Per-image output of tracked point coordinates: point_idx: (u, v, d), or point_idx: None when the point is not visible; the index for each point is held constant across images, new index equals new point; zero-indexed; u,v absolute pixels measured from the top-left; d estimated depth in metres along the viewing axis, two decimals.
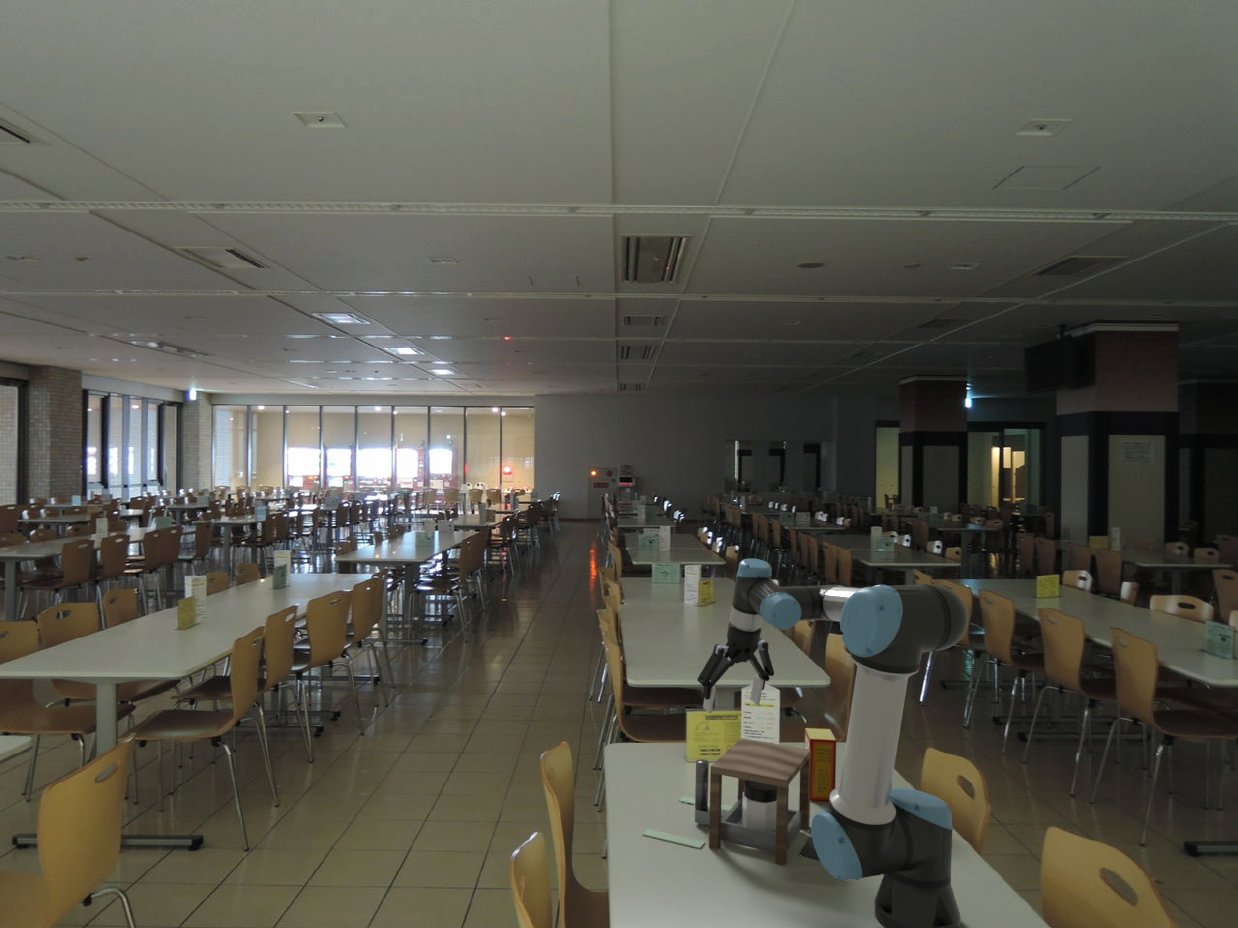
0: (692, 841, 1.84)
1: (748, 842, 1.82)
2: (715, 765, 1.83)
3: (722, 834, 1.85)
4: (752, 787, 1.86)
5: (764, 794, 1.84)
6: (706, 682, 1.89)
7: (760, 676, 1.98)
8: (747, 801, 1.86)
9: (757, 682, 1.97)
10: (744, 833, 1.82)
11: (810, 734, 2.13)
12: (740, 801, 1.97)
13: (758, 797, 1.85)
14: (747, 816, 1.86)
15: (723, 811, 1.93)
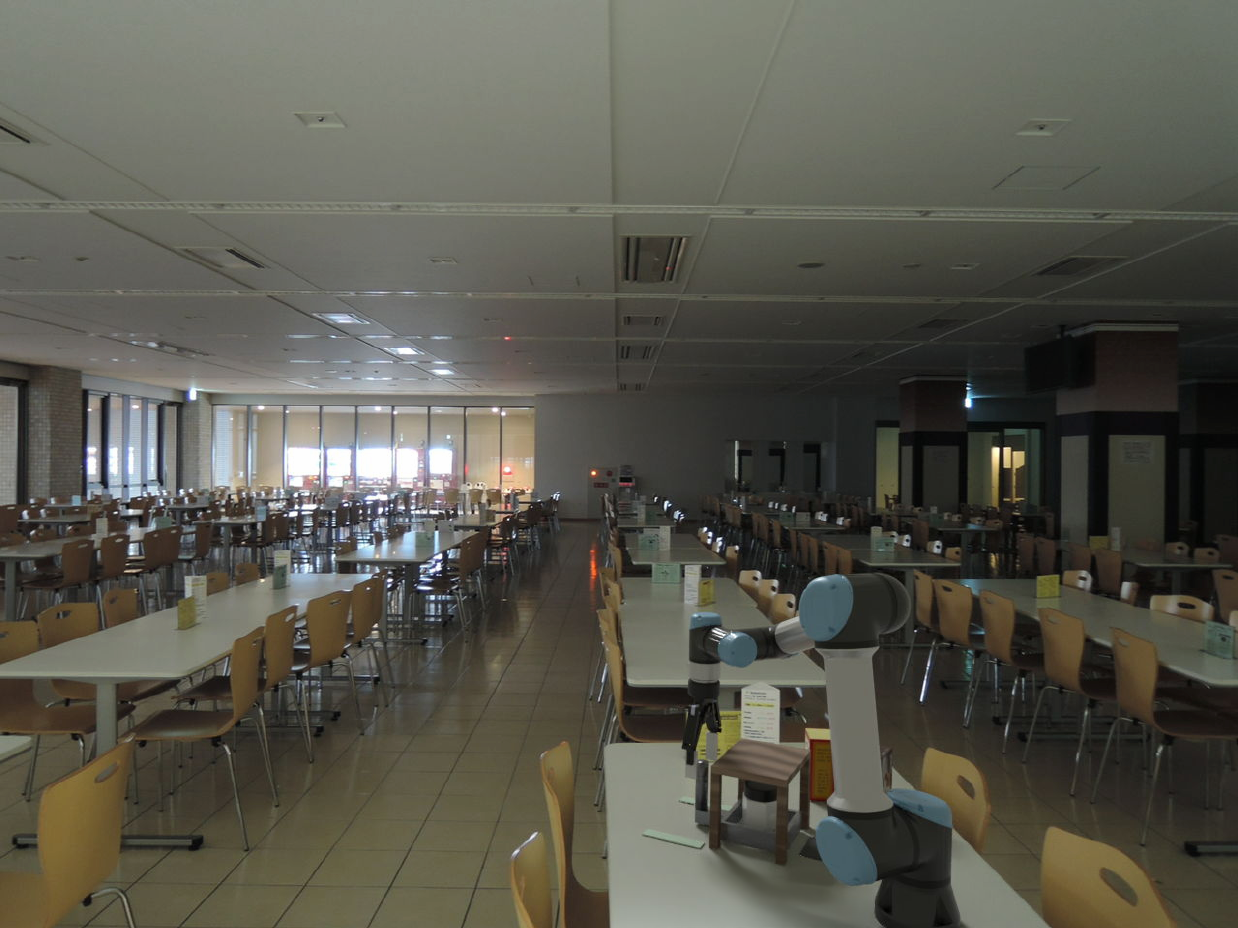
0: (692, 841, 1.84)
1: (748, 842, 1.82)
2: (715, 765, 1.83)
3: (722, 834, 1.85)
4: (752, 787, 1.86)
5: (764, 794, 1.84)
6: (693, 746, 1.86)
7: (712, 731, 2.02)
8: (747, 801, 1.86)
9: (712, 737, 2.01)
10: (744, 833, 1.82)
11: (810, 734, 2.13)
12: (740, 801, 1.97)
13: (758, 797, 1.85)
14: (747, 816, 1.86)
15: (723, 811, 1.93)
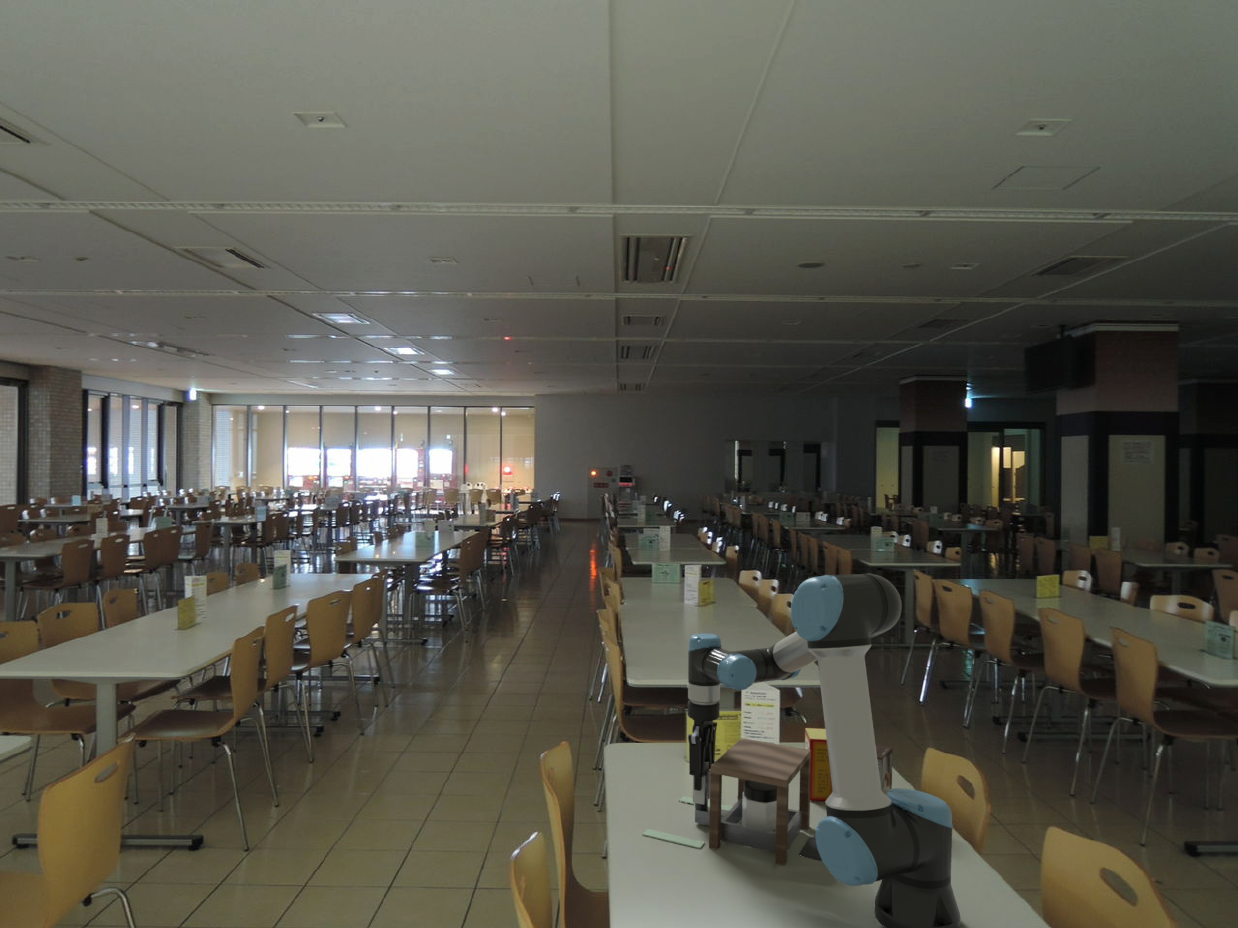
0: (692, 841, 1.84)
1: (748, 842, 1.82)
2: (715, 765, 1.83)
3: (722, 834, 1.85)
4: (752, 787, 1.86)
5: (764, 794, 1.84)
6: (700, 771, 1.90)
7: None
8: (747, 801, 1.86)
9: None
10: (744, 833, 1.82)
11: (810, 734, 2.13)
12: (740, 801, 1.97)
13: (758, 797, 1.85)
14: (747, 816, 1.86)
15: (723, 811, 1.93)
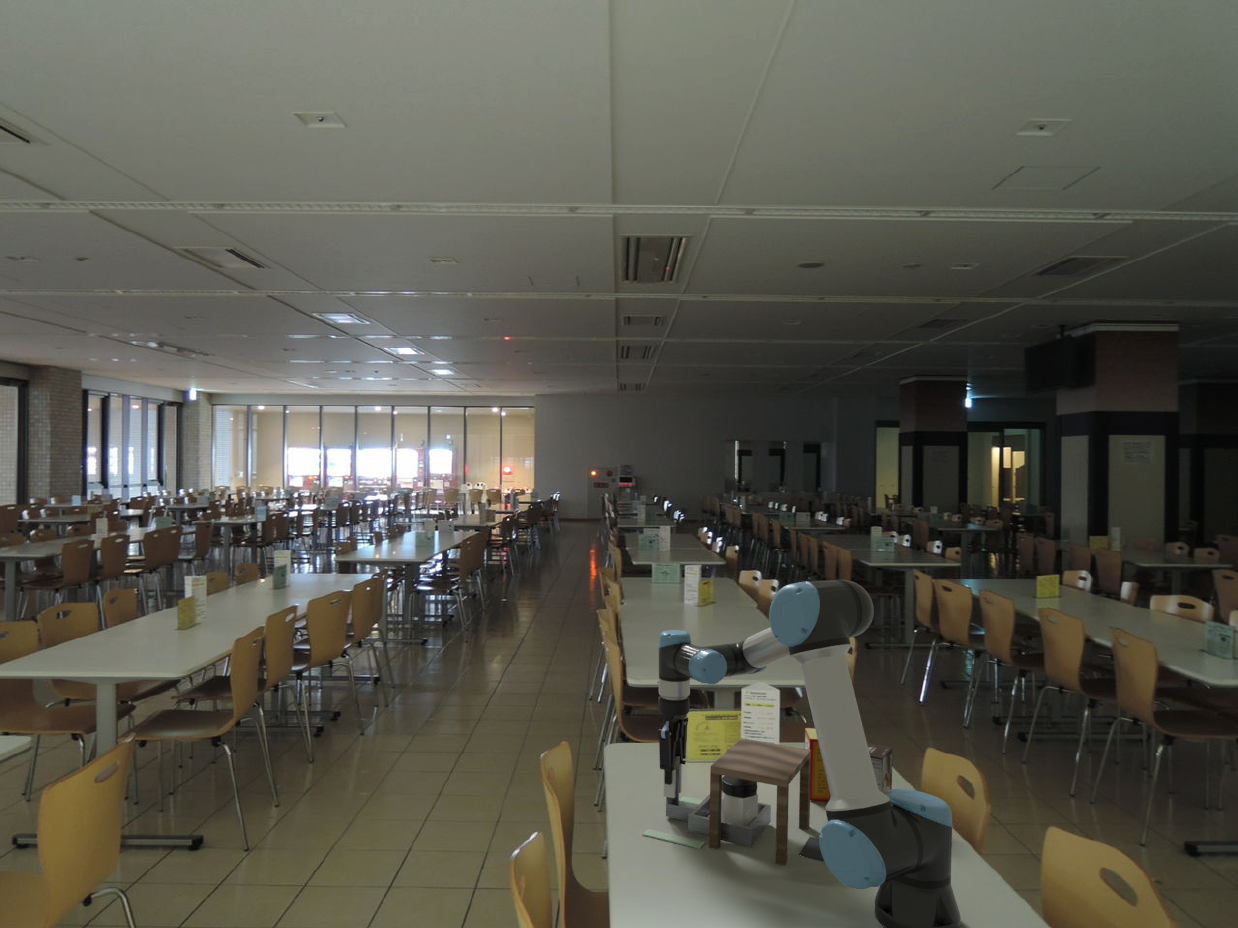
0: (692, 841, 1.84)
1: None
2: (715, 765, 1.83)
3: (692, 827, 1.88)
4: (729, 782, 1.89)
5: (741, 789, 1.87)
6: (670, 765, 1.94)
7: None
8: (724, 796, 1.88)
9: None
10: None
11: (810, 734, 2.13)
12: None
13: (735, 793, 1.87)
14: (724, 811, 1.88)
15: (693, 805, 1.97)
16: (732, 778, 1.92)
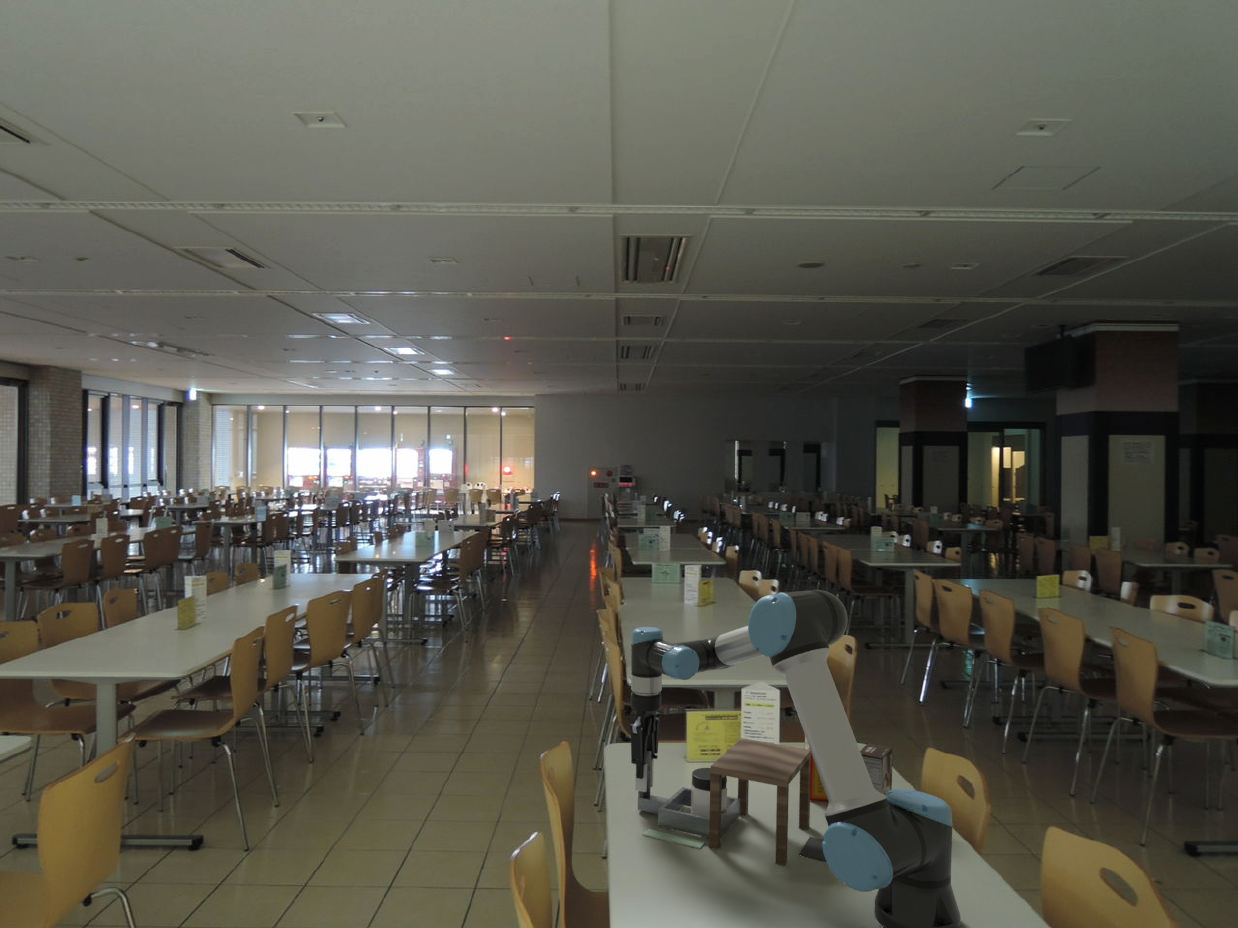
0: (692, 841, 1.84)
1: (685, 827, 1.89)
2: (715, 765, 1.83)
3: (662, 820, 1.91)
4: (699, 776, 1.92)
5: None
6: (641, 760, 1.97)
7: None
8: (694, 790, 1.92)
9: None
10: (682, 819, 1.89)
11: None
12: (682, 789, 2.03)
13: (704, 786, 1.90)
14: (694, 804, 1.92)
15: (665, 799, 2.00)
16: (702, 772, 1.95)
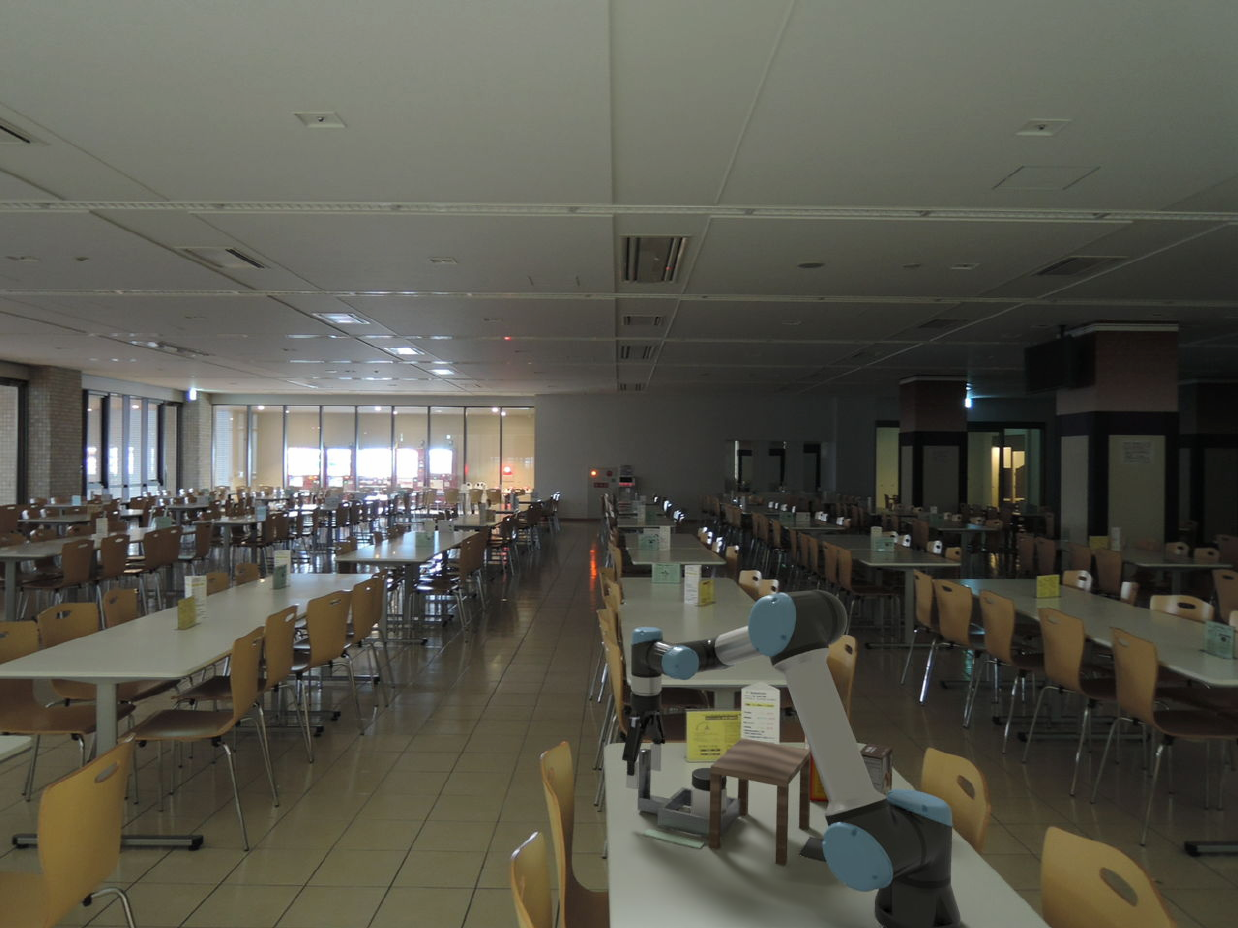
0: (692, 841, 1.84)
1: (685, 827, 1.89)
2: (715, 765, 1.83)
3: (661, 820, 1.91)
4: (699, 776, 1.92)
5: (709, 783, 1.90)
6: (633, 757, 1.93)
7: (656, 742, 2.08)
8: (694, 790, 1.92)
9: (655, 749, 2.07)
10: (682, 819, 1.89)
11: None
12: (682, 789, 2.03)
13: (704, 786, 1.90)
14: (694, 804, 1.92)
15: (665, 799, 2.00)
16: (702, 772, 1.95)
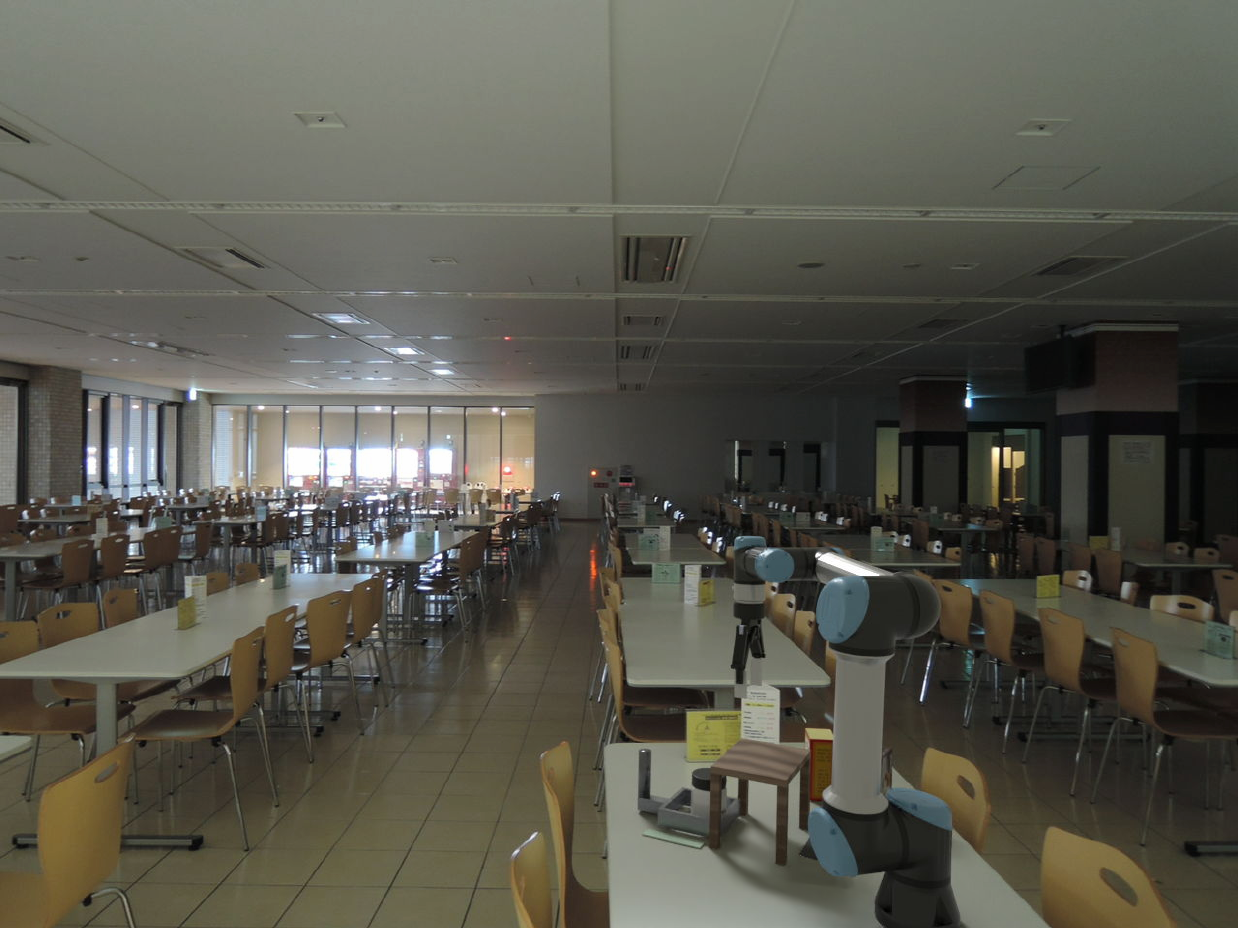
0: (692, 841, 1.84)
1: (685, 827, 1.89)
2: (715, 765, 1.83)
3: (661, 820, 1.91)
4: (699, 776, 1.92)
5: (709, 783, 1.90)
6: (743, 663, 1.87)
7: (756, 656, 2.03)
8: (694, 790, 1.92)
9: (756, 663, 2.02)
10: (682, 819, 1.89)
11: (810, 734, 2.13)
12: (682, 789, 2.03)
13: (704, 786, 1.90)
14: (694, 804, 1.92)
15: (665, 799, 2.00)
16: (702, 772, 1.95)
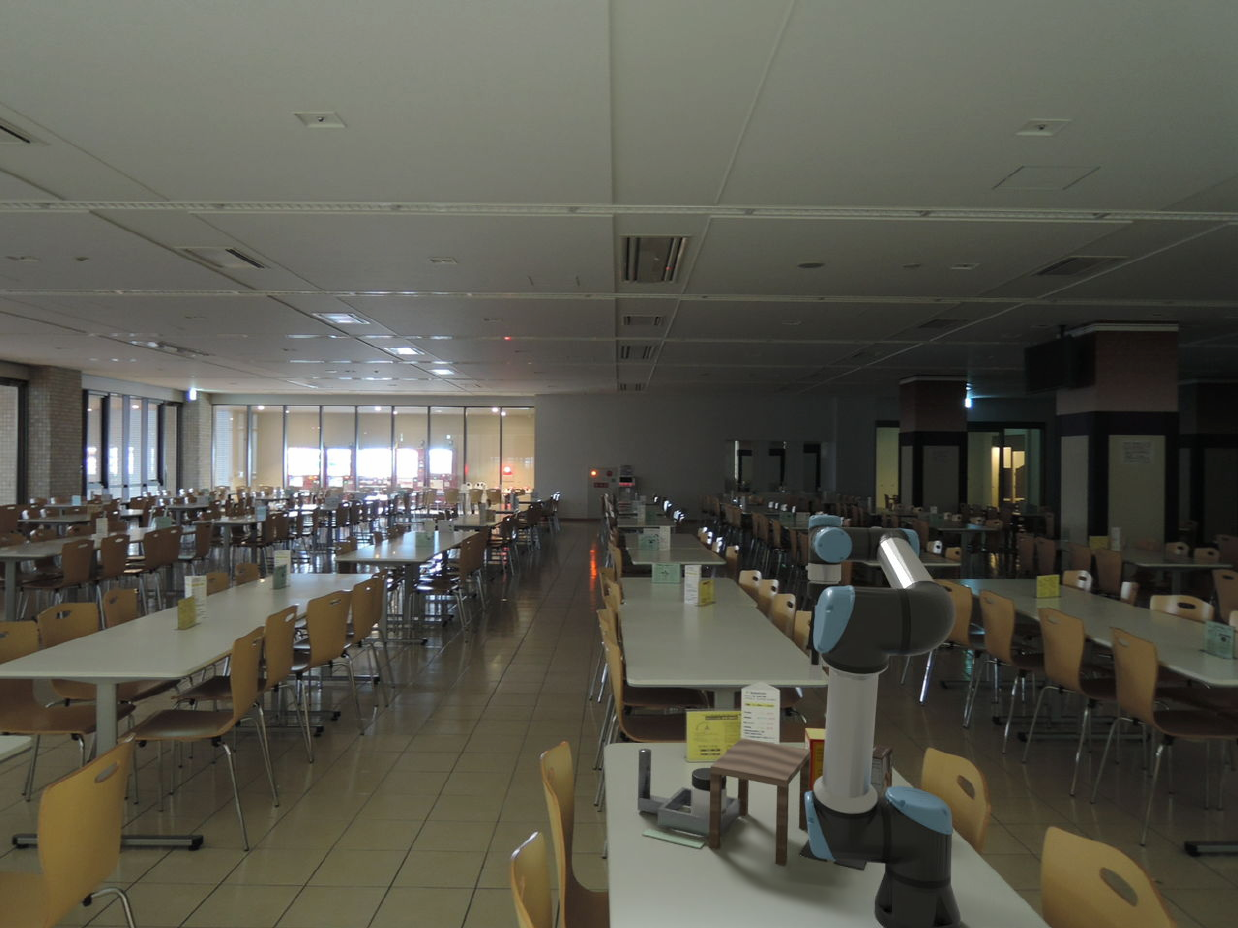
0: (692, 841, 1.84)
1: (685, 827, 1.89)
2: (715, 765, 1.83)
3: (661, 820, 1.91)
4: (699, 776, 1.92)
5: (709, 783, 1.90)
6: None
7: None
8: (694, 790, 1.92)
9: None
10: (682, 819, 1.89)
11: (810, 734, 2.13)
12: (682, 789, 2.03)
13: (704, 786, 1.90)
14: (693, 804, 1.92)
15: (665, 799, 2.00)
16: (702, 772, 1.95)
